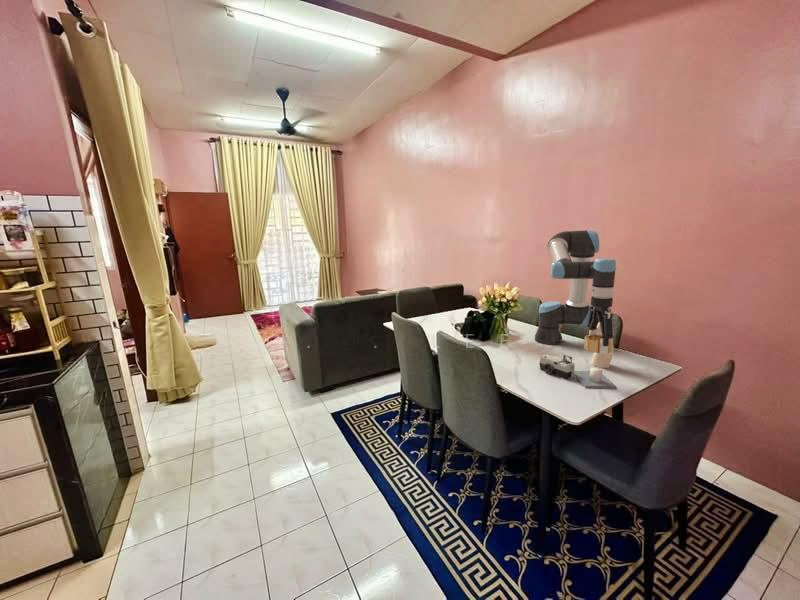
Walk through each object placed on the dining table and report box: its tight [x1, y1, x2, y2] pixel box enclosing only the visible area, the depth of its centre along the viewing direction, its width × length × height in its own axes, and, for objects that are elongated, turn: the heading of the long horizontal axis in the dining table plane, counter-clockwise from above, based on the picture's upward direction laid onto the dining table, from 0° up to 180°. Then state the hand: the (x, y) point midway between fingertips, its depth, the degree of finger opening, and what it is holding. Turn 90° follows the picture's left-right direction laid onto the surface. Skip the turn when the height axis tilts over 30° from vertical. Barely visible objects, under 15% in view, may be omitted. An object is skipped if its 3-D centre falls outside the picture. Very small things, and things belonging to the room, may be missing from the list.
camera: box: [539, 353, 576, 381], centre depth 149 cm, size 15×8×10 cm, turn 29°
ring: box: [583, 333, 614, 353], centre depth 135 cm, size 10×10×5 cm
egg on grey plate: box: [573, 367, 617, 389], centre depth 141 cm, size 15×12×6 cm
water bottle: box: [590, 307, 615, 369], centre depth 153 cm, size 10×9×28 cm
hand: (597, 348), depth 136 cm, fingers closed on ring, 10 cm apart
